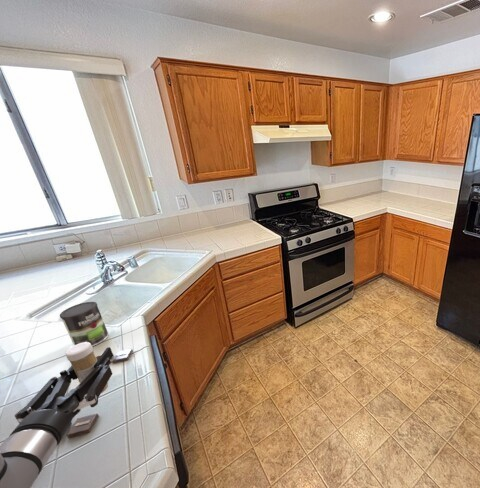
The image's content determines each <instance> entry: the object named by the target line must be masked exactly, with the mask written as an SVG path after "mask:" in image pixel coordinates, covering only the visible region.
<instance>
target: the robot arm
mask: <svg viewBox="0 0 480 488" xmlns="http://www.w3.org/2000/svg"><path fill="white" fill-rule="evenodd" d="M100 355H101V356H100ZM100 355H99V356H100V358H99V359H98V361H97V362H96V363H95V365H94V368H95V369H94V370H93V371H92V372H91V373H90V374H89V375H88V376H87V377H86V378H85V379H84V380H83V381H82V382H81V383H80V382H79V384H78V385H76V387H75V388H72V389H70V390H69V387H70V385H71V383H72V381H76V380H78V378H77V375H76V373H75V371H74V369H73V367H72V365H71V366H70V367H69V368H68V369H67V370H66V369H65V370H62V371H60V372H59V375H60V376H53V377H51V378H50V379H48V381H47V382H46V383H45V384H44V385H43V387H42V388H41V389H40V390H39V391H38V392H37V393H36V394H35V395H34V396H33V398H32V399H30V401H28V403H27V404H26V405H25V406H24V407H23V408H22V409H20V410H19V411H17V412H16V413H15V414H14V417H15V419H16V421H17V422H18V424H17V426H16V427H15V428H14V429H13V430H12V432H11V433H9V435H8V437H6V438H5V440H4V441H3V442H2V443H1V445H0V488H32V486H33V485H34V483H35V482H36V480H37V478H38V476H39V475H40V474H41V472H42V471H43V470H44V467H45V466H46V465H47V463H48V461H49V460H50V459H51V457H52V455H53V454H54V452H55V451H56V449H57V447H58V446H59V444H60V443H61V442H62V441H63V439H64V437H65V435H67V432H69V429H70V428H71V426H72V424H71V422H73V419H74V418H75V417H76V415H78V414H79V413H80V412H81V411H82V409H84V408H87V407H88V406H90V408H95V407H96V406H97V405H98V404H99V398H100V397H101V394H102V393H103V392H102V391H103V389H104V387H105V386H106V384H107V383H109V381H110V379H111V377H112V375H113V371H112V369H111V367H110V365H111V363H112V359H113V358H114V356H113V355H114V353H113V351H112V348H111V347H110V346H108V347H106V348H105V350H104V351H103V352H102V353H101V354H100ZM111 358H112V359H111ZM68 390H69V391H68ZM101 392H102V393H101ZM70 425H71V426H70Z"/></svg>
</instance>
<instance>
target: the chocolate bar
mask: <svg viewBox="0 0 480 488" xmlns="http://www.w3.org/2000/svg"><path fill="white" fill-rule="evenodd" d="M133 352H134V350H133V348H129V349H123V350H119V351H117V352H116V353H115V355H114V354H113V357H112V358H111V363H112V364H117V363H121V362H126V361H129V359H130V358H131V355H132V354H133ZM101 355H102V354H100V355H97V356H95V357H96V359H97V360H98V359H99V358H100V356H101Z"/></svg>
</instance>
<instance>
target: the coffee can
mask: <svg viewBox="0 0 480 488" xmlns="http://www.w3.org/2000/svg"><path fill="white" fill-rule="evenodd" d="M59 317H60V319H61V321H62V323H63V325H64V328H65V329H66V331H67V333H68V336H69V338H70V340H71V343H72V344H73V345H72V346H74V345H77V344H79V343H83V342H89V343H91V345H92V347H93V348H94V347H96V346H97V345H99V344H101V343H103V342H104V341H106V340H107V339H108V337H109V335H110V334H109V332H108V329H107V327H106V325H105V321H104V318H103V317H102V314H101V311H100V309H99V307H98V303H97V301H86V302H85V301H84V302H81V303H77V304H74V305H72V306H70V307H68V308H66V309H64V310H63V311H61V312H60V313H59ZM95 345H96V346H95Z"/></svg>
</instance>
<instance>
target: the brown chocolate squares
mask: <svg viewBox="0 0 480 488" xmlns="http://www.w3.org/2000/svg"><path fill="white" fill-rule="evenodd" d="M99 418H100V416H99V414H98V413H93V414H89V415H85V416H81V417H78V418H76V420H75V422H74V423H73V421H71V425H70V428H69V429H70V430H68V431H67V432H68V433H66V437H67V438H68V439H71V438H75V437H78V436H83V435H86V434H90V433H91V431H92V430H93V428H94V426H95V424H96V423H97V421H98V419H99Z"/></svg>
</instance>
